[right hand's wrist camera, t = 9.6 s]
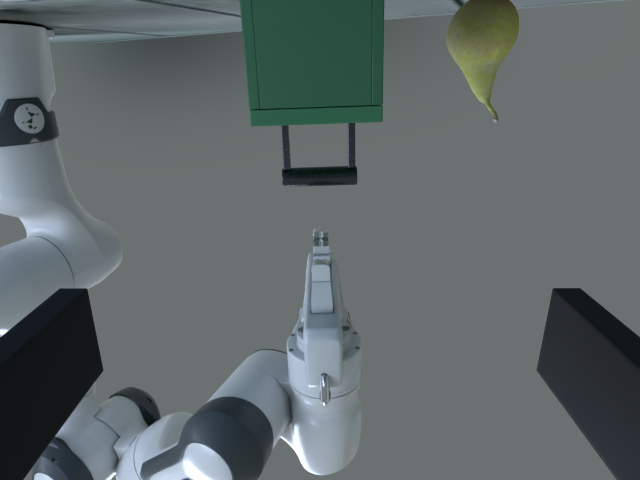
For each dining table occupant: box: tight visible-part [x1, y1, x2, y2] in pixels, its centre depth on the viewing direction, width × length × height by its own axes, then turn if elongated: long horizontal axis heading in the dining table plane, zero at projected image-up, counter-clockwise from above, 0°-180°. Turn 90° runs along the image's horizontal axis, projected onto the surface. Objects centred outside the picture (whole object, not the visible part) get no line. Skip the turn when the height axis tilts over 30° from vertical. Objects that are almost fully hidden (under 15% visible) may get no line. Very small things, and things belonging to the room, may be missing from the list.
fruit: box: [446, 0, 519, 123], centre depth 46 cm, size 7×8×12 cm
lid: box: [249, 105, 383, 187], centre depth 40 cm, size 16×9×9 cm, turn 0°
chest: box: [240, 0, 384, 109], centre depth 36 cm, size 15×9×9 cm, turn 0°
